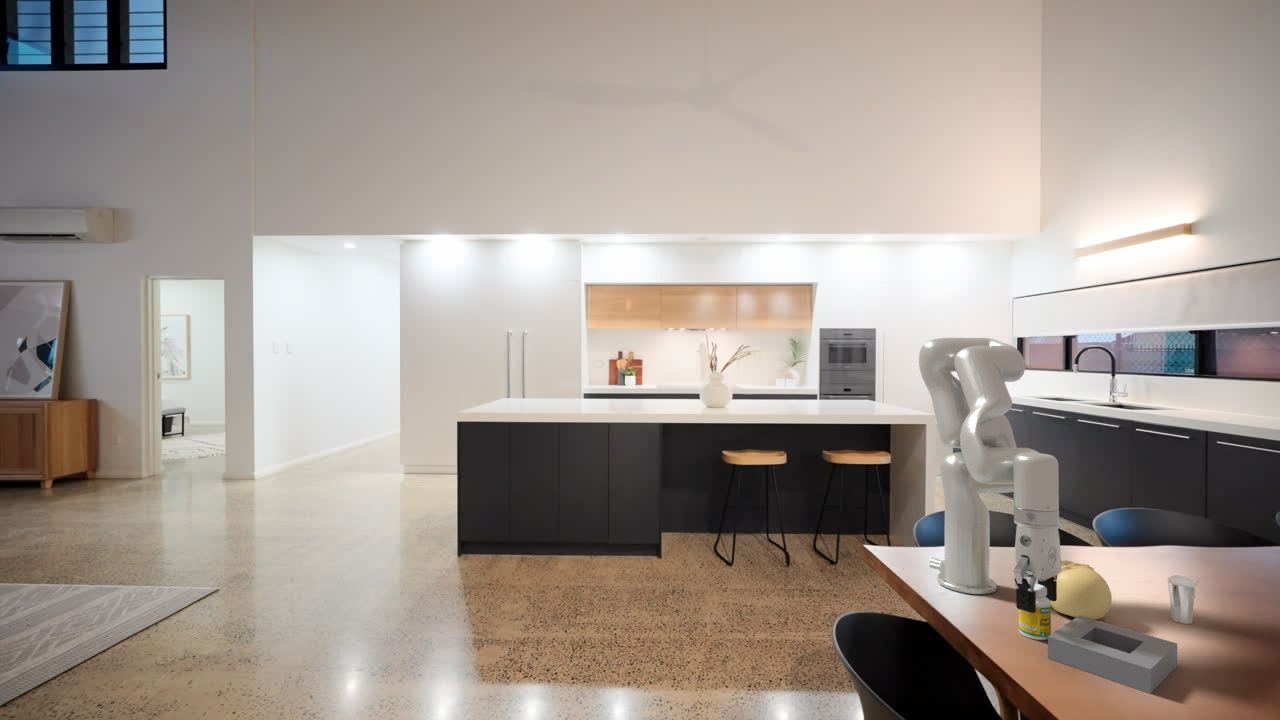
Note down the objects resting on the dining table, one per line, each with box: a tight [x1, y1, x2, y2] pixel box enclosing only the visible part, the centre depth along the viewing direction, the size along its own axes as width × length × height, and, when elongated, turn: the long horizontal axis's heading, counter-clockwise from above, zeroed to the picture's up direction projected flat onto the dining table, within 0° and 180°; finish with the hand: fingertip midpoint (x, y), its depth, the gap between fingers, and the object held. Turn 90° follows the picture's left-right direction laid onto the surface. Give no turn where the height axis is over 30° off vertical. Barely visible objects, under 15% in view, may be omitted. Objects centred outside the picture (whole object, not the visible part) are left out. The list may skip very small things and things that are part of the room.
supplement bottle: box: [1018, 583, 1052, 641], centre depth 125 cm, size 5×5×10 cm
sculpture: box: [1050, 560, 1113, 620], centre depth 135 cm, size 12×12×11 cm
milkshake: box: [1167, 574, 1202, 625], centre depth 131 cm, size 5×5×10 cm
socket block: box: [1047, 616, 1178, 695], centre depth 114 cm, size 15×15×4 cm
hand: (1036, 604), depth 124 cm, fingers open, 9 cm apart
